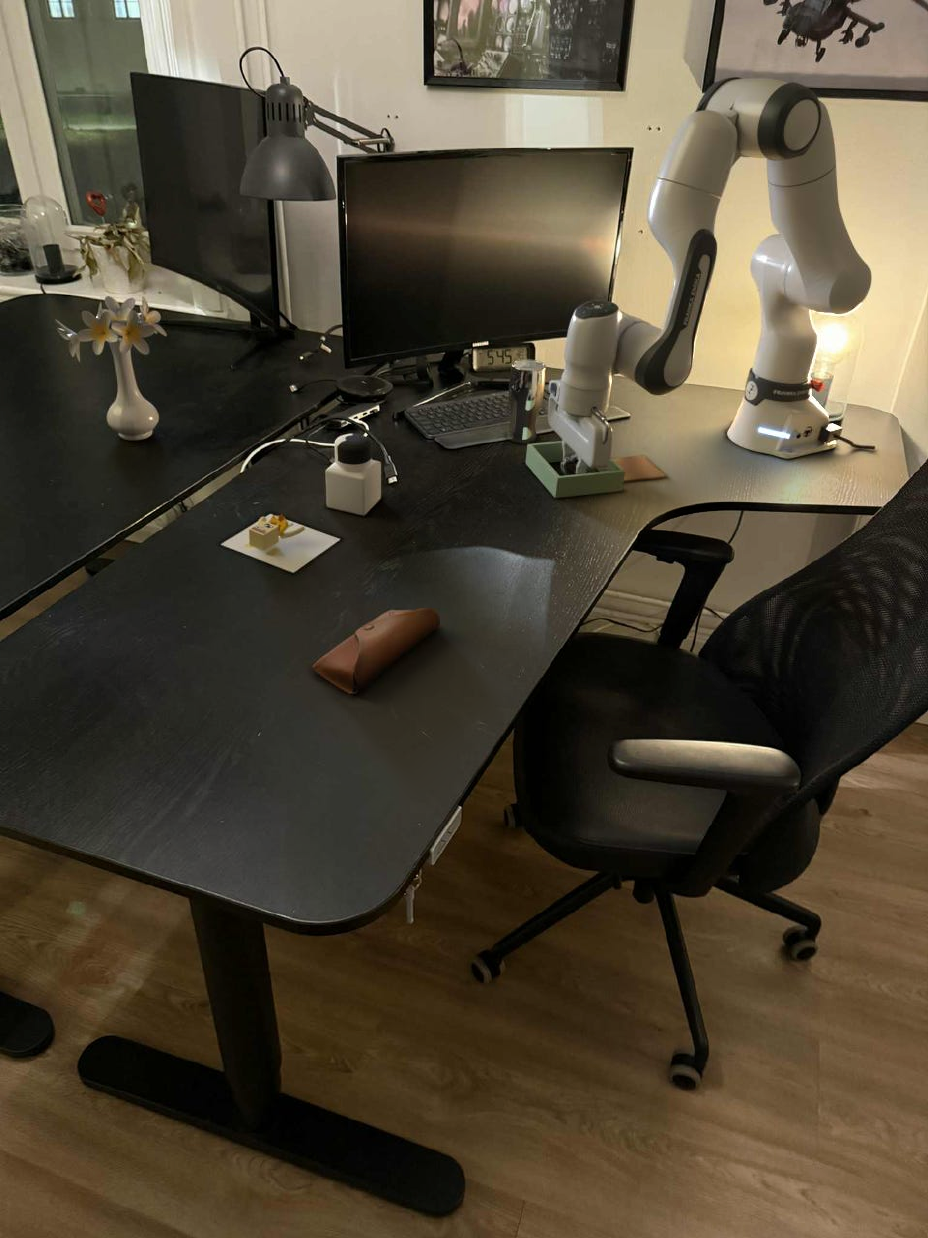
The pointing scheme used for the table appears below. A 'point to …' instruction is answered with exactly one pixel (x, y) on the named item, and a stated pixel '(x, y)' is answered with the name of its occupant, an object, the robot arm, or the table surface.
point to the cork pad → (638, 468)
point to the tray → (571, 484)
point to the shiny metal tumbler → (525, 399)
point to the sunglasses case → (375, 647)
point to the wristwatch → (565, 468)
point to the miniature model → (281, 542)
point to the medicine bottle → (353, 476)
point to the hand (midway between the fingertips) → (573, 468)
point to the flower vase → (121, 360)
